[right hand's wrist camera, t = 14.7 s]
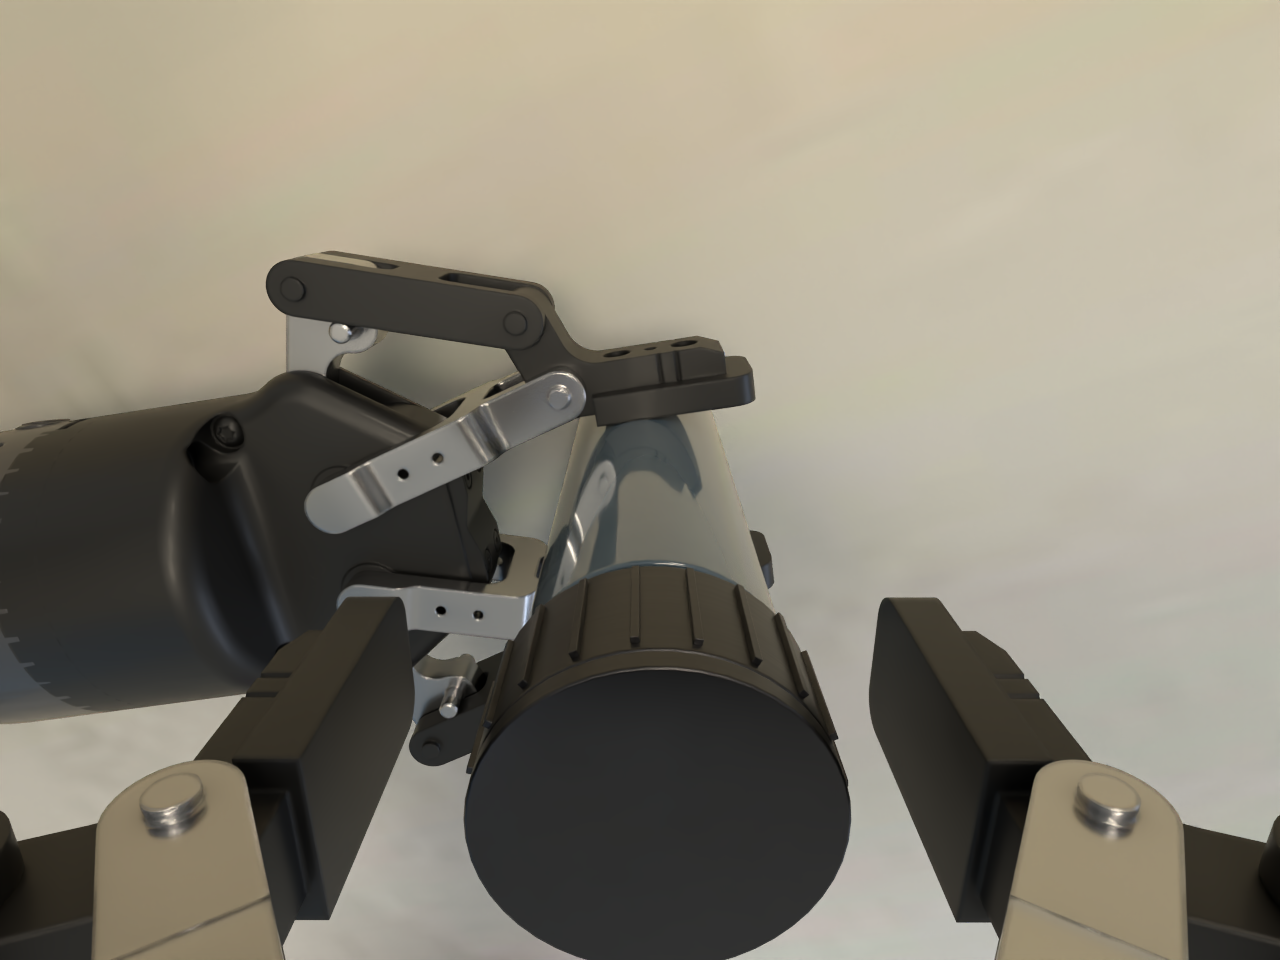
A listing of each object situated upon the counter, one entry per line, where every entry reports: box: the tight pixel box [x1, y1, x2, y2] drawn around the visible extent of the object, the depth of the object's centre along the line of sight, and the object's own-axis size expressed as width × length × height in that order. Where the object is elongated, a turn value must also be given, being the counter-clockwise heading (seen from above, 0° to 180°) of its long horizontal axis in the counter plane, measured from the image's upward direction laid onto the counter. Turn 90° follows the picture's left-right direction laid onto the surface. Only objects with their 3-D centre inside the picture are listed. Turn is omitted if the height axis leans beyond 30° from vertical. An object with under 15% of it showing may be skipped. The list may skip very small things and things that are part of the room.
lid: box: [464, 565, 851, 960], centre depth 10 cm, size 5×5×2 cm
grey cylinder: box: [528, 410, 776, 620], centre depth 18 cm, size 4×4×17 cm
